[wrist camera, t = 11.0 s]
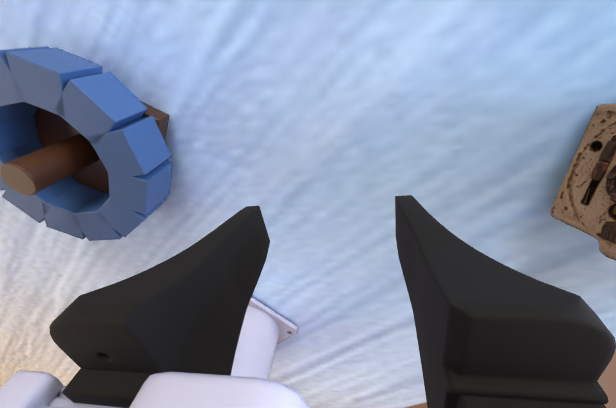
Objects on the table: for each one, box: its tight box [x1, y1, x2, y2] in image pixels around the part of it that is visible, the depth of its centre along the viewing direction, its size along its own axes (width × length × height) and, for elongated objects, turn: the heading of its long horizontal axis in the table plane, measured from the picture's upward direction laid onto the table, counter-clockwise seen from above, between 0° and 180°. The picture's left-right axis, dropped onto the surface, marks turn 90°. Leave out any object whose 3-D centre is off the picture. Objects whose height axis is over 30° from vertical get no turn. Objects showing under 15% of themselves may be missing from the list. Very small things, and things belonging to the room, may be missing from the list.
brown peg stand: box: [0, 48, 169, 195], centre depth 18 cm, size 9×9×6 cm
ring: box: [0, 47, 172, 241], centre depth 18 cm, size 12×12×3 cm
